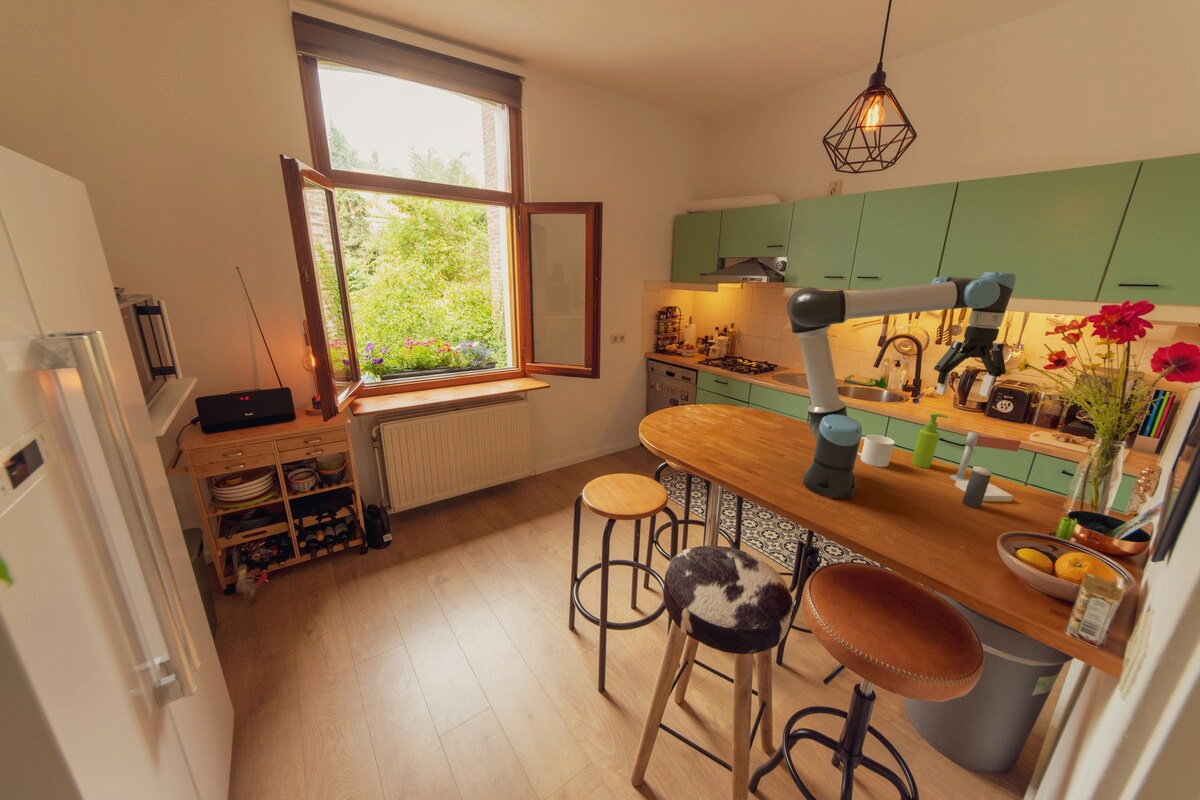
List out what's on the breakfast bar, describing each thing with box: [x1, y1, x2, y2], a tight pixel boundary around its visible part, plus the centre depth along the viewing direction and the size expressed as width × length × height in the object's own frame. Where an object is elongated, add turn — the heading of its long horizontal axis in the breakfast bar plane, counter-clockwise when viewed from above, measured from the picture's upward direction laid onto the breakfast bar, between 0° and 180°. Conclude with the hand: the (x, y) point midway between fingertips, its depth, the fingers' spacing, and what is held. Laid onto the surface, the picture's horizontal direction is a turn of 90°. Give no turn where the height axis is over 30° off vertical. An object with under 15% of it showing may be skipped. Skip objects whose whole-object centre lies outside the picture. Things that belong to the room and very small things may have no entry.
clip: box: [964, 431, 1022, 452], centre depth 142 cm, size 3×14×4 cm, turn 70°
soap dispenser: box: [910, 412, 949, 469], centre depth 157 cm, size 6×7×20 cm
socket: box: [950, 444, 1014, 503], centre depth 141 cm, size 10×16×13 cm, turn 2°
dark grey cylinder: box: [961, 466, 993, 509], centre depth 131 cm, size 4×4×12 cm
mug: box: [857, 434, 895, 468], centre depth 161 cm, size 12×9×9 cm
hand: (961, 394), depth 134 cm, fingers open, 13 cm apart
